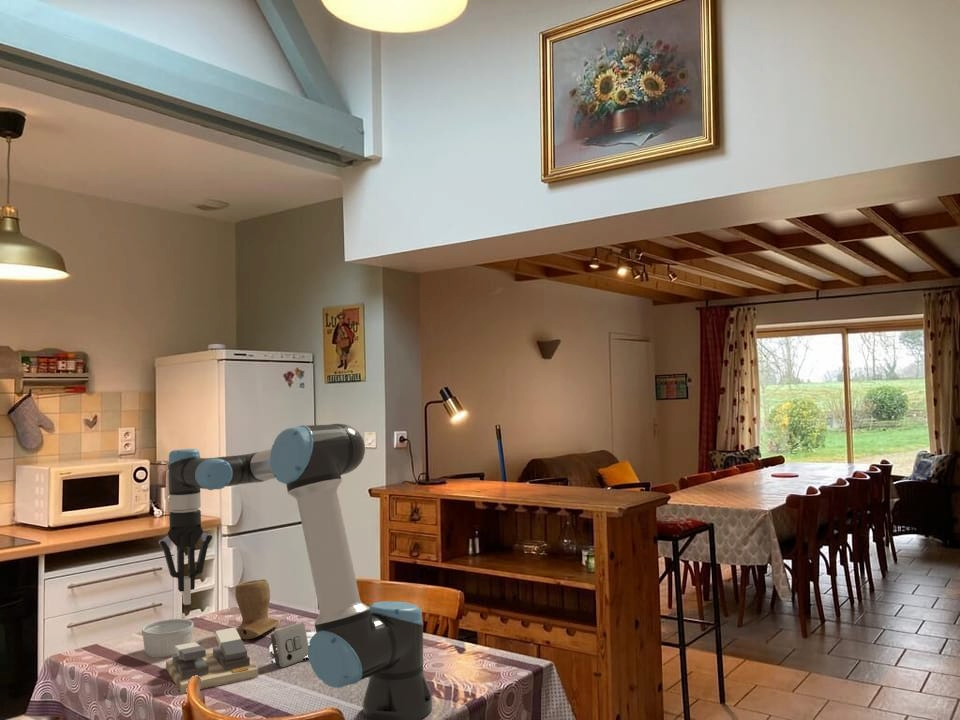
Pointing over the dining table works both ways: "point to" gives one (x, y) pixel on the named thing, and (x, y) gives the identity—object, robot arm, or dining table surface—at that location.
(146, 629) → the ramekin
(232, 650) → the rocker
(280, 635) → the electrical switch
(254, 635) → the tan piece
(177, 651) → the rocker
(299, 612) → the dining table surface
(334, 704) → the dining table surface
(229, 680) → the switch board
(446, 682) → the dining table surface
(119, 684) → the dining table surface
